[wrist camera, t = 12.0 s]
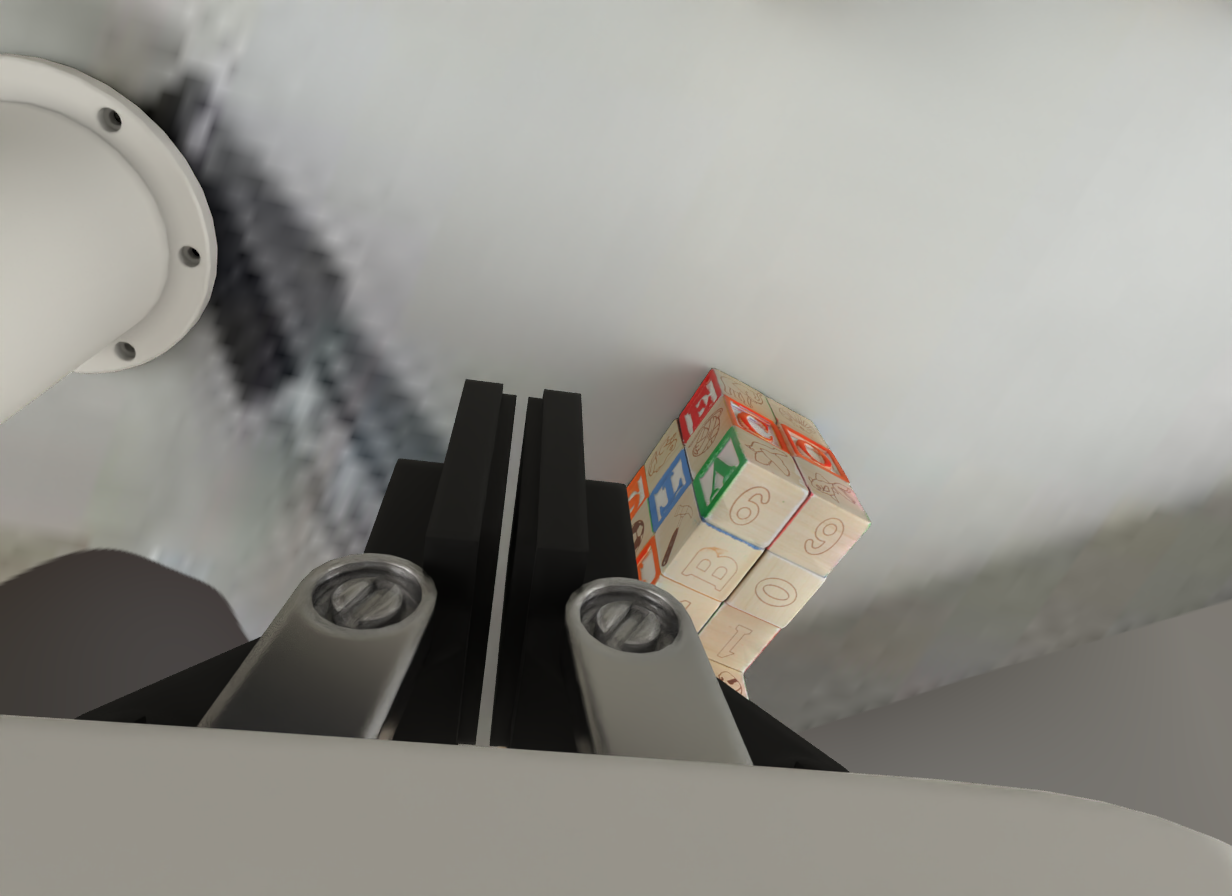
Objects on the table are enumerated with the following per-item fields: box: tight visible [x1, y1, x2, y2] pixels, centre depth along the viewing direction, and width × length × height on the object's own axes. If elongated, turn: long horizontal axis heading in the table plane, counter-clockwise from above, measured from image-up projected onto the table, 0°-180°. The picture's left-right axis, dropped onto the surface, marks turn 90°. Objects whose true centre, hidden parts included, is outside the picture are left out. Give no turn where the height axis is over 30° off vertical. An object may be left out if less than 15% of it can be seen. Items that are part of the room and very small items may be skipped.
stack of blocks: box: [497, 368, 871, 748], centre depth 38 cm, size 21×6×12 cm, turn 149°
